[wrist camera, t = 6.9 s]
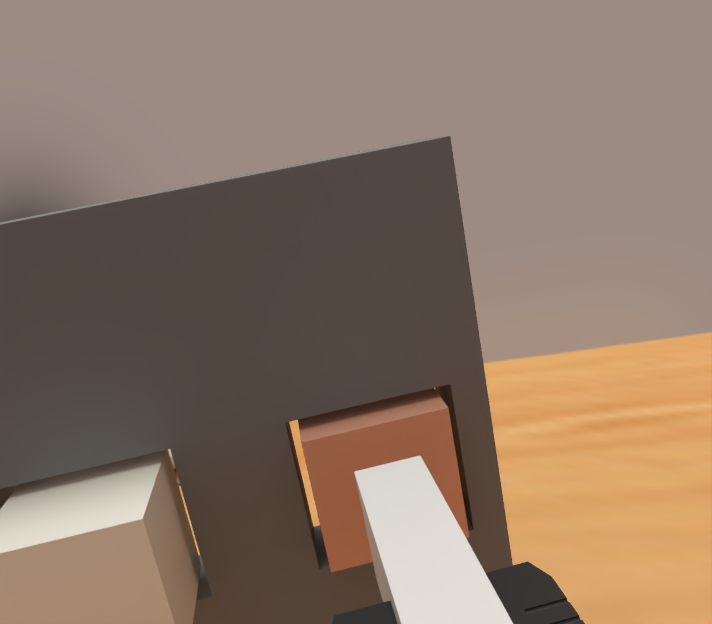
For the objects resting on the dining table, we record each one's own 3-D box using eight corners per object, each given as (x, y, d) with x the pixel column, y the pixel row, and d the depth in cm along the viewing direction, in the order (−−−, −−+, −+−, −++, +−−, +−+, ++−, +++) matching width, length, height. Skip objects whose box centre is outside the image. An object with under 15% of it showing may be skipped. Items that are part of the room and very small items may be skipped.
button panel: (-163, 956, 18) (-511, 325, 13) (-23, 691, 26) (-202, 258, 22) (539, 751, 19) (449, 136, 15) (453, 568, 28) (380, 144, 23)
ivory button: (18, 707, 14) (-40, 562, 13) (65, 599, 17) (22, 478, 16) (186, 663, 14) (142, 519, 13) (201, 565, 18) (167, 445, 17)
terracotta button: (331, 572, 16) (301, 442, 15) (319, 500, 20) (294, 391, 19) (469, 537, 17) (448, 407, 16) (434, 472, 20) (415, 363, 19)
